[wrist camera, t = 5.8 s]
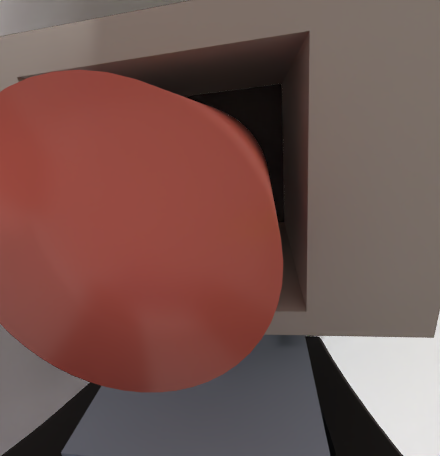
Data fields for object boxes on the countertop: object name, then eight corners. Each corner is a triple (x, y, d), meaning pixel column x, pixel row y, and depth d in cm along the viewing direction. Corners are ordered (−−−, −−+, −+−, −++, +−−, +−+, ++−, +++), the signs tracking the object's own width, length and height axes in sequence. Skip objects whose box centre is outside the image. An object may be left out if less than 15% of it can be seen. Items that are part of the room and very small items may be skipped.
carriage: (185, 383, 11) (125, 592, 6) (165, 280, 10) (60, 453, 5) (293, 388, 11) (324, 630, 6) (292, 278, 9) (335, 481, 4)
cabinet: (116, 243, 10) (11, 329, 6) (77, 91, 8) (-113, 57, 4) (349, 233, 9) (433, 337, 4) (361, 51, 7) (518, -62, 3)
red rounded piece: (142, 252, 6) (18, 385, 3) (111, 114, 5) (-118, 98, 2) (271, 247, 6) (286, 400, 3) (265, 96, 5) (279, 36, 2)
